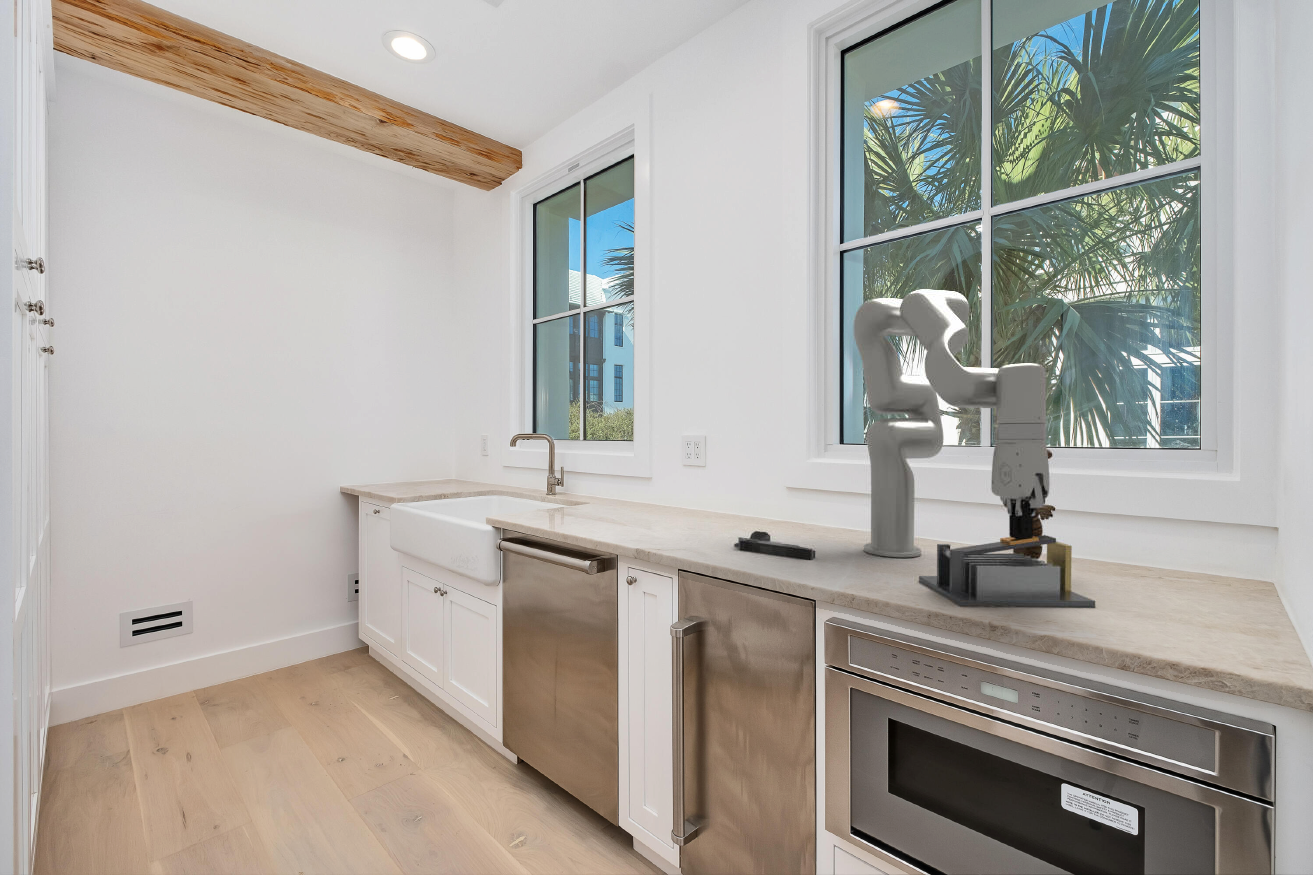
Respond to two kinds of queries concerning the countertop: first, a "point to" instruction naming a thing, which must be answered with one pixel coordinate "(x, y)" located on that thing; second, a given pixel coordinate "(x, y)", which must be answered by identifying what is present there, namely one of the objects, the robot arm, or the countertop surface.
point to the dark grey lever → (1002, 545)
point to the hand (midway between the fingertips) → (1021, 537)
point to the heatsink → (1006, 579)
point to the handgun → (773, 547)
